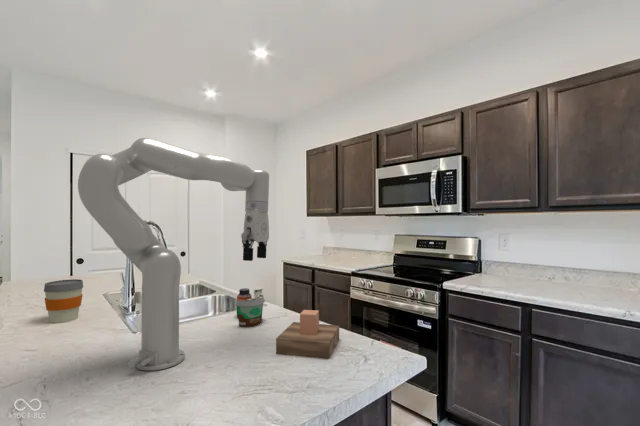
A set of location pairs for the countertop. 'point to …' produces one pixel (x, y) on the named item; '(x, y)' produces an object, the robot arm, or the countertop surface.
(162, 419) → the countertop surface
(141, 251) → the robot arm
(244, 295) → the supplement bottle
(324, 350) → the walnut block
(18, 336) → the countertop surface
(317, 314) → the terracotta block
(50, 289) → the reusable coffee cup
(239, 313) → the food container
